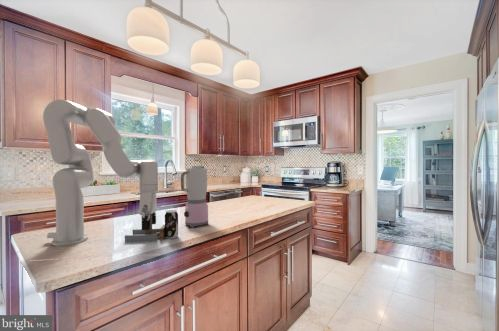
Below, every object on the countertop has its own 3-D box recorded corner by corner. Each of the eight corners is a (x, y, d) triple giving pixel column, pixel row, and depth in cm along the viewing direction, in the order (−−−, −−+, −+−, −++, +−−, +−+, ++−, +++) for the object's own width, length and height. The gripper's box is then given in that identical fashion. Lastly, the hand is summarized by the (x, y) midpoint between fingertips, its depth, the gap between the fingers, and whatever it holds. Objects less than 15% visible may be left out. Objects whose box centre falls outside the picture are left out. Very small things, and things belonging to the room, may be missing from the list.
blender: (200, 220, 138) (199, 165, 137) (213, 224, 129) (212, 165, 129) (175, 226, 126) (174, 166, 126) (187, 230, 118) (187, 166, 117)
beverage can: (180, 237, 107) (180, 210, 107) (168, 240, 103) (168, 212, 103) (174, 234, 111) (173, 209, 111) (162, 237, 107) (162, 211, 107)
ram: (143, 240, 102) (143, 217, 102) (148, 235, 109) (148, 213, 109) (163, 239, 103) (162, 216, 103) (166, 234, 110) (166, 213, 110)
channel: (124, 242, 100) (124, 235, 100) (133, 235, 109) (133, 229, 109) (156, 241, 101) (156, 234, 101) (162, 234, 111) (162, 228, 111)
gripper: (146, 186, 114) (146, 222, 114) (132, 190, 96) (133, 232, 97) (162, 186, 115) (162, 221, 115) (152, 190, 97) (152, 232, 97)
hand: (149, 226), depth 106 cm, fingers open, 9 cm apart
